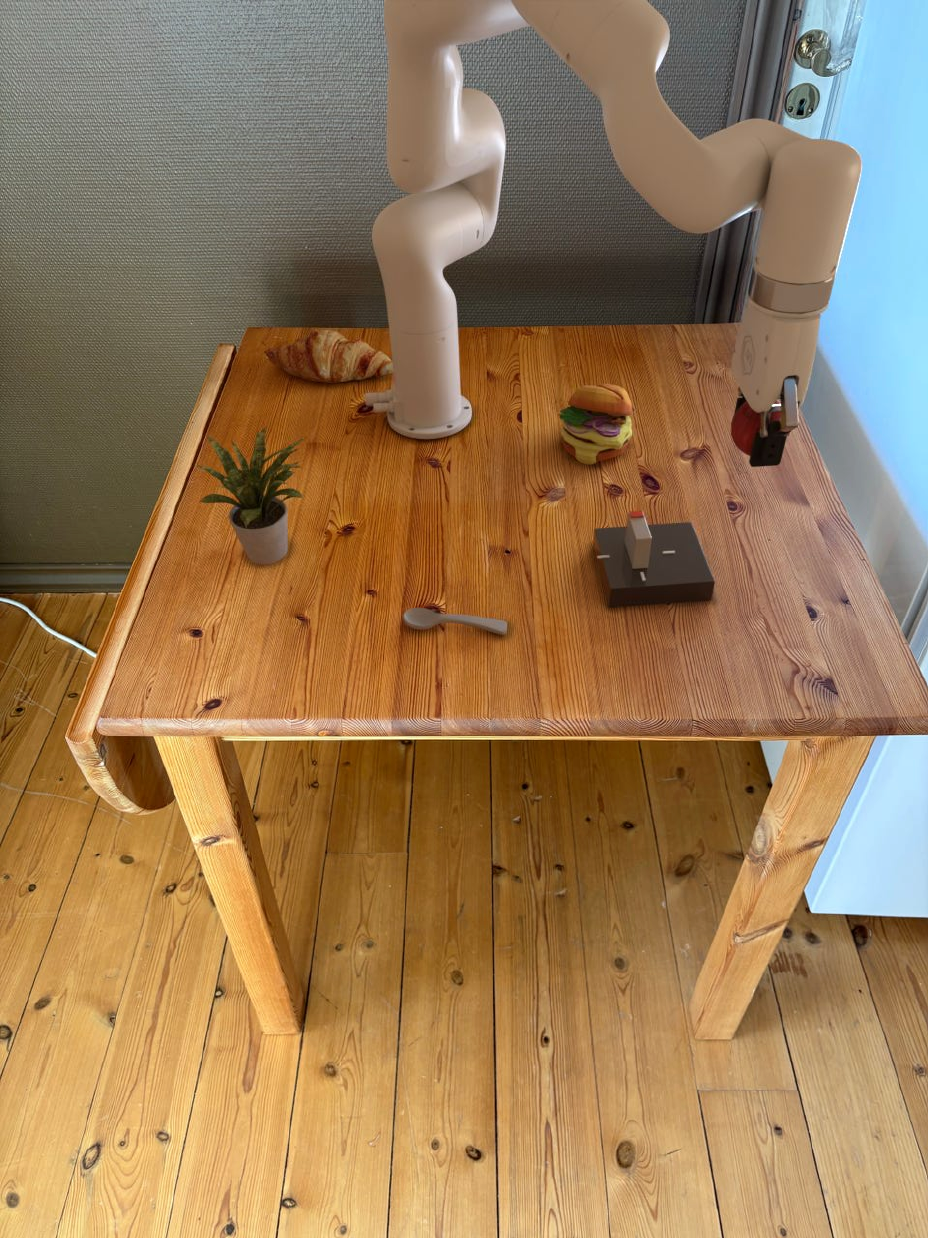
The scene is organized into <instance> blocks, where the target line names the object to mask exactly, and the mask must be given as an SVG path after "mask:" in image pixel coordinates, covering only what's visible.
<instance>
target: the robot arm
mask: <svg viewBox="0 0 928 1238" xmlns="http://www.w3.org/2000/svg"><path fill="white" fill-rule="evenodd" d="M383 23H384V25H383V26H384V33H385V34H384V35H385V41H386V48H387V49H386V50H387V60H388V67H387V68H388V78H387V95H386V97H387V98H386V99H387V101H386V106H387V107H386V134H385V135H386V136H385V137H386V142H385V143H386V144H385V151H386V153H385V154H386V164H387V165H386V166H387V170H388V173H389V174H388V175H389V176H390V179H391V180H392V183H393V184H394V185H395V186H396V187H397V188H398V189H399V190H401V191H402V192H403V193H408V194H409V195H407V196H403V197H402V198H399V199H397V200H395V201H393V202H391V203H390V204H389V205H387V206H385V208H383V209H382V210H381V212H379V214H378V215H377V216H376V218H375V220H374V222H373V223H374V224H373V227H372V230H371V240H372V241H371V242H372V247H373V251H374V255H375V258H376V261H377V264H378V267H379V272H380V276H381V279H382V283H383V290H384V297H385V303H386V312H387V320H388V321H387V322H388V332H389V343H390V353H391V361H392V363H393V372H392V374H393V382H392V388H391V389H386V391H384V392H377V391H375V392H365V393H364V395H365V396H364V401H365V407H373V413H374V414H380V413H386V419H387V423H388V425H389V427H390V428H391V429H392V430H393V431H395V432H396V433H398V434H399V435H402V436H403V437H407V438H411V439H417V440H437V439H441V438H446V437H449V436H453V435H454V434H457V433H458V432H461V431H462V430H463V429H464V428H466V427H467V426H468V425H469V423H470V422H471V420H472V417H473V409H472V405H471V403H470V401H469V400H468V399H467V398H466V397H465V396H463V395H462V394H461V391H462V390H461V368H460V367H461V366H460V347H459V346H460V345H459V344H460V343H459V322H458V307H457V306H458V305H457V299H456V296H455V293H454V290H453V289H452V287H451V286H450V285H449V283H448V282H447V280H446V279H445V277H444V274H443V271H444V269H445V268H446V267H447V266H449V265H452V264H453V263H454V262H457V261H459V260H461V259H463V258H465V257H467V256H469V255H471V254H473V253H475V252H477V251H478V250H480V249H482V248H483V247H484V246H486V245H487V243H489V241H490V239H491V238H492V236H493V235H494V232H495V228H496V226H497V220H498V214H499V208H500V207H499V206H500V200H501V199H500V197H501V189H502V182H503V173H504V167H505V159H506V148H507V147H506V146H507V139H506V138H507V137H506V130H505V124H504V120H503V118H502V114H501V112H500V109H499V108H498V106H497V105H496V103H495V102H494V100H493V99H492V98H491V97H490V96H489V94H486V93H485V92H483V91H481V90H480V89H476V88H469V87H468V88H463V86H464V67H463V62H462V58H461V55H460V52H459V49H458V46H461V45H467V44H472V43H475V42H479V41H482V40H486V39H490V38H491V39H492V38H494V37H498V36H501V35H505V34H507V33H511V32H514V31H518V30H521V29H524V28H528V27H530V28H531V29H532V30H533V31H534V32H535V33H536V34H537V35H538V36H539V37H540V38H541V39H542V40H543V41H544V42H545V44H546V45H547V46H548V47H549V48H550V49H551V50H552V51H553V52H554V53H555V54H556V55H557V56H558V57H559V58H560V59H561V60H562V61H563V63H564V64H565V65H566V66H567V67H568V68H569V69H570V70H571V71H572V72H573V73H574V74H575V75H576V76H577V77H578V79H579V80H580V81H581V82H582V83H583V84H584V85H585V86H586V87H587V88H588V90H590V91H591V93H593V95H594V96H595V97H596V98H597V99H598V101H599V102H600V105H601V109H602V120H603V127H604V131H605V134H606V137H607V141H608V145H609V147H610V150H611V153H612V156H613V158H614V161H615V163H616V166H617V167H618V169H619V171H620V172H621V174H622V176H623V177H624V178H625V180H626V181H627V182H628V183H629V184H630V186H631V187H632V188H633V189H634V190H635V191H636V192H637V193H638V195H640V196H641V198H642V199H643V200H645V202H646V203H647V204H648V205H649V206H650V207H651V208H652V209H653V210H654V211H655V212H656V213H657V214H658V215H659V216H660V217H661V218H662V219H664V221H666V222H667V223H669V224H670V225H672V226H673V227H675V228H677V229H678V230H680V231H683V232H686V233H689V234H696V235H699V234H708V233H711V232H714V231H716V230H719V229H721V228H723V227H724V226H726V225H728V224H729V223H731V222H733V221H734V220H736V219H738V218H740V217H742V216H744V215H745V214H748V213H752V212H757V211H761V210H762V216H761V221H760V227H759V232H758V237H757V242H756V248H755V253H754V258H753V263H752V267H751V274H750V279H749V284H748V288H747V296H746V302H745V305H744V308H743V311H742V315H741V318H740V323H739V326H738V331H737V334H736V339H735V344H734V348H733V352H732V357H731V361H730V369H731V373H732V375H733V378H734V380H735V382H736V384H737V386H738V387H737V395H738V397H737V398H736V402H735V408H734V413H733V415H734V414H735V412H736V411H737V410H738V409H739V408H740V406H741V405H742V404H743V403H745V402H746V401H747V402H748V404H749V405H750V407H751V408H752V409H753V410H754V411H755V412H757V413H761V417H760V432H755V437H754V441H753V446H752V450H751V455H750V456H749V461H748V464H749V466H750V467H752V468H759V467H761V468H762V467H772V466H773V467H774V466H779V465H780V464H781V462H782V457H783V454H784V449H785V446H786V442H787V437H789V436H790V433H791V432H792V431H793V430H796V429H797V428H798V427H799V423H800V419H799V418H800V417H799V409H800V408H801V407H802V405H803V404H804V402H805V398H806V395H807V392H808V389H809V384H810V380H811V376H812V372H813V368H814V367H813V365H814V361H815V356H816V351H817V345H818V338H819V331H820V324H821V314H823V313H824V312H826V310H827V309H828V308H829V303H830V299H831V295H832V292H833V288H834V283H835V280H836V276H837V272H838V268H839V265H840V260H841V256H842V252H843V249H844V245H845V240H846V237H847V232H848V228H849V224H850V221H851V217H852V213H853V209H854V205H855V201H856V197H857V194H858V189H859V185H860V181H861V177H862V171H863V160H862V157H861V154H860V153H859V151H857V150H856V149H855V147H853V146H851V145H850V144H847V143H844V142H841V141H838V140H833V139H827V138H826V139H825V138H811V137H808V136H805V135H803V134H801V133H799V132H796V131H795V130H792V129H790V128H789V127H786V126H785V125H782V124H779V123H777V122H775V121H773V120H770V119H769V120H768V119H765V118H758V117H757V118H749V119H745V120H742V121H740V122H739V121H738V122H736V123H734V124H732V125H730V126H728V127H726V128H723V129H720V130H718V131H716V132H714V133H712V134H710V135H708V136H705V137H703V138H700V139H699V138H698V137H697V136H696V135H694V133H693V132H692V131H691V130H690V129H689V128H688V127H687V126H686V125H685V124H684V123H683V122H682V120H680V119H679V118H678V117H677V115H675V113H674V112H673V110H672V109H671V108H670V107H669V105H668V104H667V102H666V101H665V99H664V98H663V95H662V93H661V91H660V87H659V84H658V82H657V74H656V73H657V71H658V69H660V66H661V64H662V62H663V60H664V58H665V56H666V54H667V51H668V49H669V46H670V45H669V43H670V41H671V40H670V39H671V32H670V27H669V24H668V22H667V20H666V18H665V17H664V16H663V15H662V14H661V13H660V12H658V10H657V9H656V8H654V6H652V4H651V3H650V2H649V1H648V0H384V4H383ZM776 400H777V401H778V400H779V401H780V404H774V403H775V402H776ZM772 412H781V418H780V419H779V420H778V421H773V422H771V423H770V424H769V419H770V413H772Z"/></svg>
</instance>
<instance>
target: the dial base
mask: <svg viewBox="0 0 928 1238" xmlns="http://www.w3.org/2000/svg"><path fill="white" fill-rule="evenodd" d="M647 525H648V528H649V531H650V534H651V537H652V540H651V547H650V555H649V562H648V568H639V569H633V568H632V565H631V562H630V558H629V555H628V551H627V548H626V545H625V534H626V526H616V527H615V526H614V527H601V528H598V527H597V528H594V531H593V543H592V549H593V553H594V557H595V560H596V564H597V568H598V571H599V576H600V579H601V583H602V588H603V590H604V595H605V599H606V602H607V606H608V608H609V609H610V608H626V607H639V606H652V605H666V604H679V603H680V604H681V603H695V602H709V601H712V598H713V593H714V588H715V584H716V580H715V578H714V575H713V573H712V570H711V567H710V565H709V563H708V560H707V557H706V554H705V552H704V549H703V547H702V545H701V543H700V539H699V537H698V534H697V531H696V529H695V527H694V524H693V522H692V521H685V522H684V521H683V522H671V523H670V522H669V523H656V524H647Z"/></svg>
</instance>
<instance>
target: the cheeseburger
mask: <svg viewBox="0 0 928 1238" xmlns="http://www.w3.org/2000/svg"><path fill="white" fill-rule="evenodd" d="M567 405H568V406H567V407H565V408H563V409H560V411H559V413H558V416H559V419H560V421H561V426H562V427H561V434H562V435H561V443H562V446H563V447H564V450H565V451H567V453H568V454H570V455H571V456H573V458H575V459H576V461H578V462H579V463H581V464H584V465H594V464H596V463H597V462H600V461H607V460H609V459H612V458H615V457H618V456H621V454H623V453H624V452H625V451H627V448H628V445H629V441H630V439H631V438H632V436H633V429H632V425H633V423H632V419H631V417H630V416H631V415H633V413H635V412H636V409H635V408H634V407H633V404H632V401H631V398H630V396H629V394H628V391H626V390H625V389H624V388H623V387H622V386H620V385H616V384H612V383H611V384H610V383H599V384H595V385H590V384H586V385H581V386H580V387H579V388H577V389H576V390H575V391H574V392H573V393H572V394H571V396H570V398H569V400H568V401H567Z"/></svg>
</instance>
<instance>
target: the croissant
mask: <svg viewBox="0 0 928 1238" xmlns="http://www.w3.org/2000/svg"><path fill="white" fill-rule="evenodd" d="M266 354H267V355H266V356H267V358H268V360H269V361H270V363H272V364H274V365H276V366H278V367H280V368H282V370H283V371H284V372H286V373H287V374H289V375H291V376H293V377H298V378H301V379H302V380H305V381H310V382H315V383H317V382H321V383H326V384H337V383H344V382H351V381H353V380H355V381H361V380H362V381H363V380H365V379H370V378H372V377H378V378H379V377H380V378H381V377H384V376H389V375H391V374H393V363H392V359H390V357H389V356H388V355H387V354H385V352H383V351H381V350H375V349H374V348H372V347H371V346H370V345H369V344H368V343H367V342H365V341H364V339H362V338H360V339H353V340H349V339H348V338H345V336H344V335H343V334H342V333H340V332H338V331H336V330H334V329H322V328H320V329H316V330H314V329H313V330H312V331H310V334H309V336H308V337H299V338H297V339H296V340H294V343H292V344H291V343H284V344H283V343H282V344H280V345H279V346H277V347H276V348H268V349H267V351H266Z"/></svg>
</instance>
